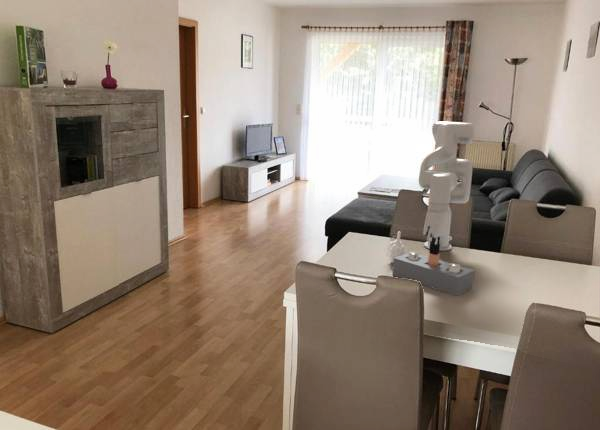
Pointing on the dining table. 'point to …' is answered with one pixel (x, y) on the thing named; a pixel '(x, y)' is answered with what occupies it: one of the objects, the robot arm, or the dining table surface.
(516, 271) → the dining table surface
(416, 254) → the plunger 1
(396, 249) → the white tall piece
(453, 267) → the clear piece
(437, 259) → the plunger mid
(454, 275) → the grey long block
